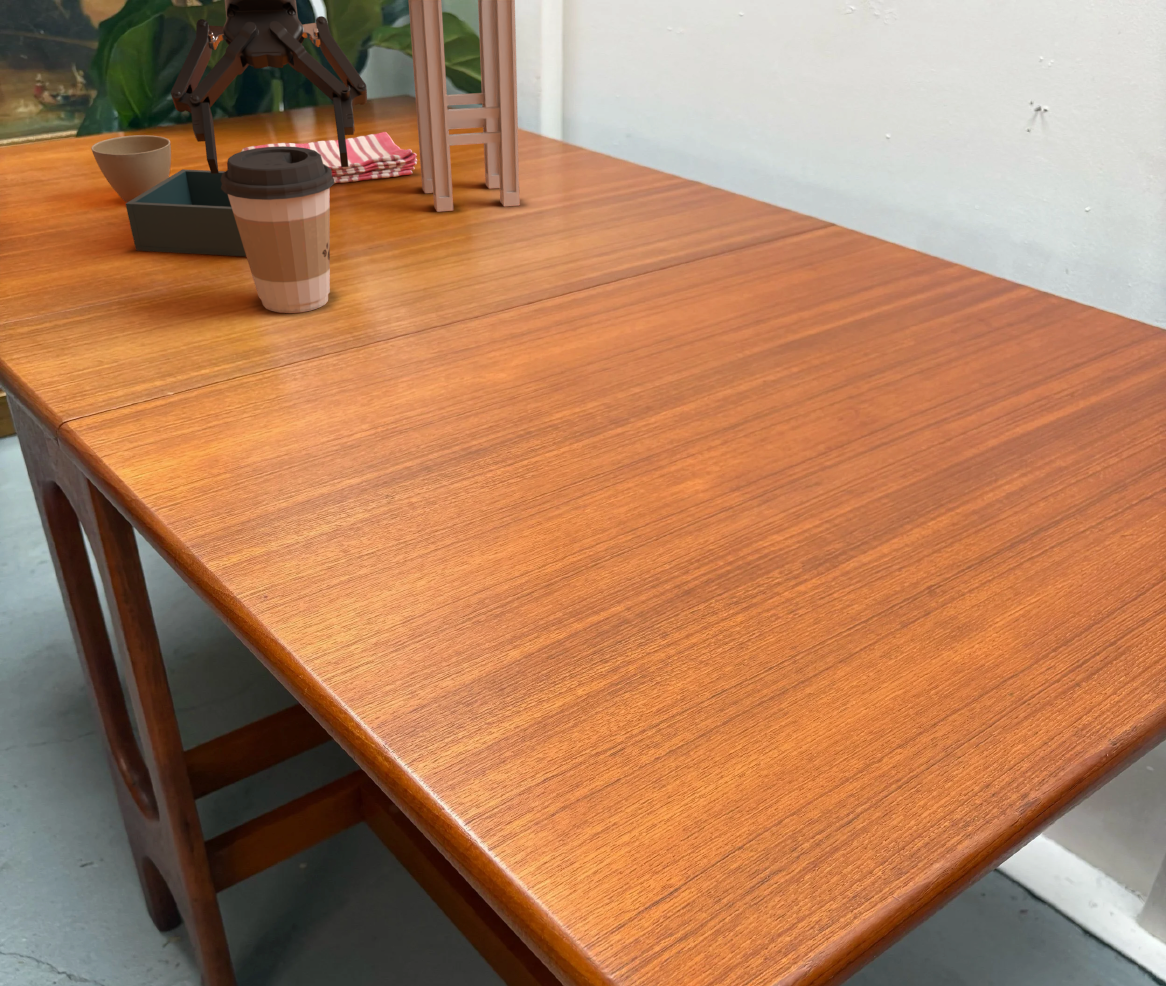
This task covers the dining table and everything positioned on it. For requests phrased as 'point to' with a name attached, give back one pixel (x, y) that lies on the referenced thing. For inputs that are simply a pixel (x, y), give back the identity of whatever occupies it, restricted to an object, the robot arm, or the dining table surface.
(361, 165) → the dish towel
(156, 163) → the beige bowl
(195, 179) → the bin
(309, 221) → the coffee cup
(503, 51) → the stool
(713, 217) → the dining table surface
